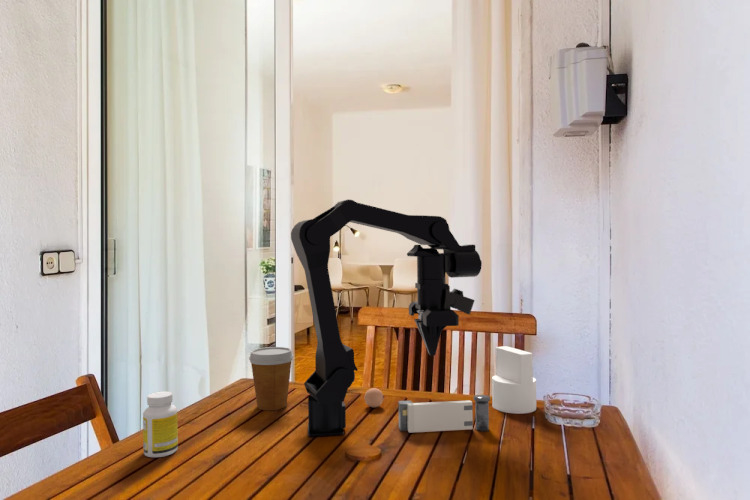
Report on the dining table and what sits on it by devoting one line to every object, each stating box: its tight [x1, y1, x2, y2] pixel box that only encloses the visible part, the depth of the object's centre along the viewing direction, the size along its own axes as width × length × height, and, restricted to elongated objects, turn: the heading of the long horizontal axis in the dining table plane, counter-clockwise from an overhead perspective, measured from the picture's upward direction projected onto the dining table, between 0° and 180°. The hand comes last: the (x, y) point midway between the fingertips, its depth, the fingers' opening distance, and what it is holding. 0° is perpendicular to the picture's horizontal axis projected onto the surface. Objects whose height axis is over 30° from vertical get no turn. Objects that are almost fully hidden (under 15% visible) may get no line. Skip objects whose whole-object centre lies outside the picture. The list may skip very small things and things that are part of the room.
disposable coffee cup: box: [248, 346, 295, 411], centre depth 115 cm, size 10×10×12 cm
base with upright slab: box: [491, 345, 537, 415], centre depth 112 cm, size 9×9×12 cm
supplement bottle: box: [142, 391, 179, 458], centre depth 90 cm, size 5×5×10 cm
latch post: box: [397, 400, 413, 432], centre depth 99 cm, size 2×2×5 cm
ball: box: [364, 387, 384, 409], centre depth 113 cm, size 4×4×4 cm
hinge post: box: [473, 394, 491, 432], centre depth 99 cm, size 3×3×6 cm
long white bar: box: [407, 399, 474, 434], centre depth 98 cm, size 12×1×5 cm, turn 97°
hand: (432, 355), depth 108 cm, fingers closed
